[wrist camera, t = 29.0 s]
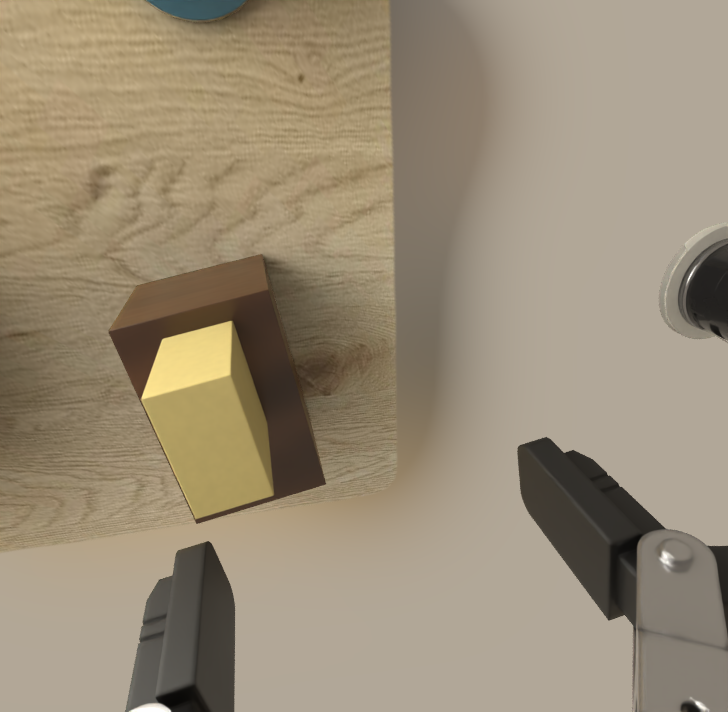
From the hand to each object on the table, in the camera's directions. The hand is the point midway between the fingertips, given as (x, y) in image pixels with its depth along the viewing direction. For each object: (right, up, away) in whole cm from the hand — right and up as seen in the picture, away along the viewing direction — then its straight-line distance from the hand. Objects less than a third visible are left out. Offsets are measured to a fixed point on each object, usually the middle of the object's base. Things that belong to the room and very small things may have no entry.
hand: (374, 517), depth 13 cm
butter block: (-10, +2, +21) cm, 24 cm away
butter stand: (-12, +4, +32) cm, 34 cm away
